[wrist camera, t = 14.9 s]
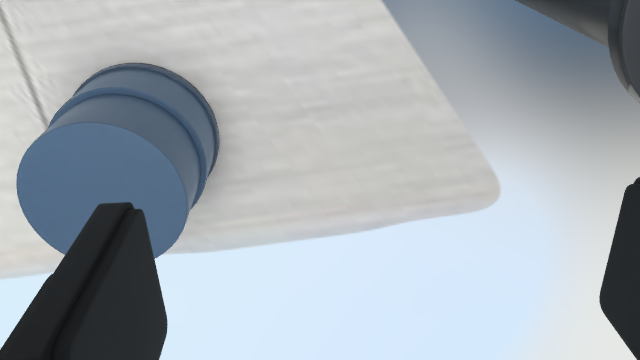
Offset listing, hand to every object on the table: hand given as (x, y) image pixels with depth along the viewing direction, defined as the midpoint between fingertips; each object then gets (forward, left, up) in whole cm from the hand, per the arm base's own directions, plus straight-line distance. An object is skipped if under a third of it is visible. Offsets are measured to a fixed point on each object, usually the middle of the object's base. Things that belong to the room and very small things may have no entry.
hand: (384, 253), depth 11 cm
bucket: (+14, +10, -30) cm, 35 cm away
